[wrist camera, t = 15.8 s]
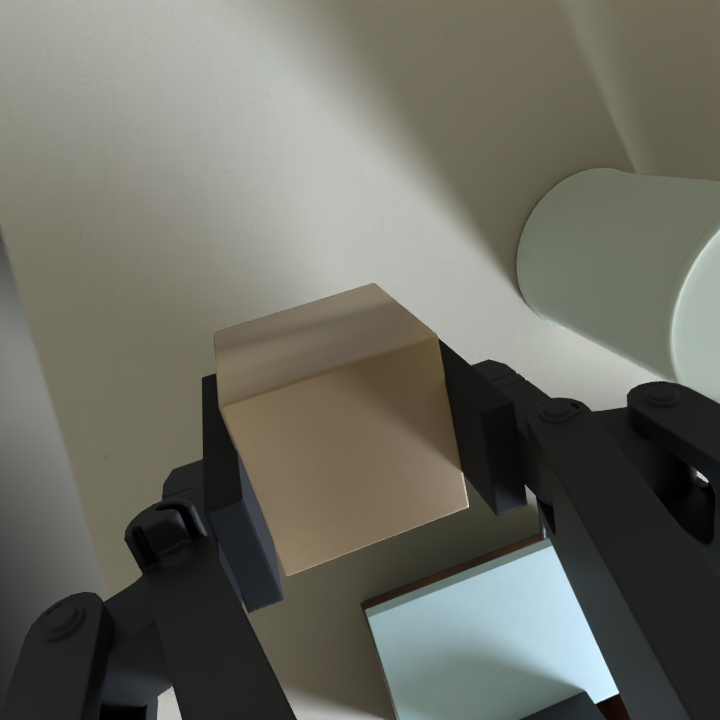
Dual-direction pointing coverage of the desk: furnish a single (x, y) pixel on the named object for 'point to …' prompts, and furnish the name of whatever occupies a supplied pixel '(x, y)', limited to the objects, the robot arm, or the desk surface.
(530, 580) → the light blue slab
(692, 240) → the can
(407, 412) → the block
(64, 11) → the desk surface
